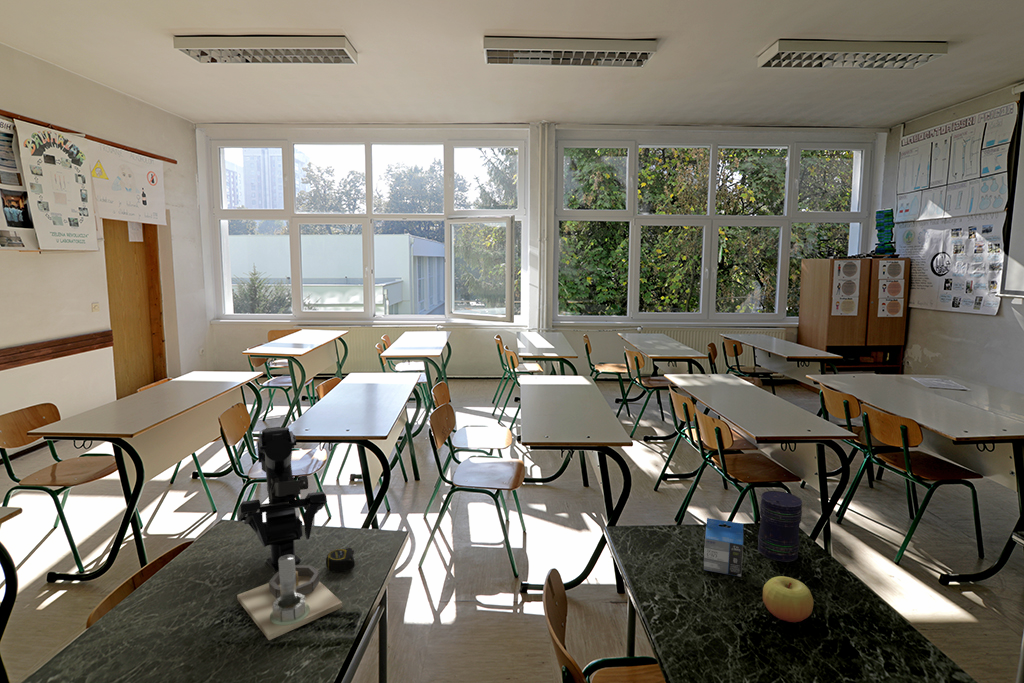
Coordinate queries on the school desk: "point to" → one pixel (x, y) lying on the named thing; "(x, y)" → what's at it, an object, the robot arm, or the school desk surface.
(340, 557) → the tape measure
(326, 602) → the gear board
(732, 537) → the label tape box
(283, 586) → the gear
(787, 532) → the storage jar
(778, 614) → the apple
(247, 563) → the school desk surface
